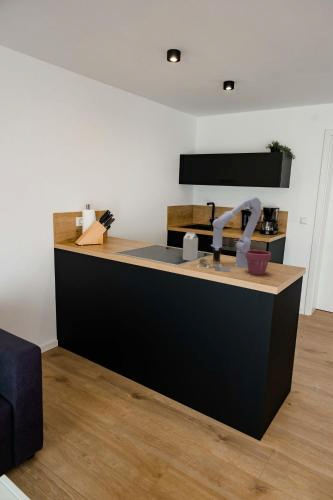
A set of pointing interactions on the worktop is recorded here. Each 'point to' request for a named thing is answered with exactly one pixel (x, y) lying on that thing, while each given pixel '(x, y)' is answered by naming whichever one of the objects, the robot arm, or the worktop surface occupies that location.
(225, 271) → the slate coaster
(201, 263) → the oak block
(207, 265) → the code tile
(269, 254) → the plant pot
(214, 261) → the walnut block
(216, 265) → the code tile
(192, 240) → the milk carton
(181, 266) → the worktop surface
